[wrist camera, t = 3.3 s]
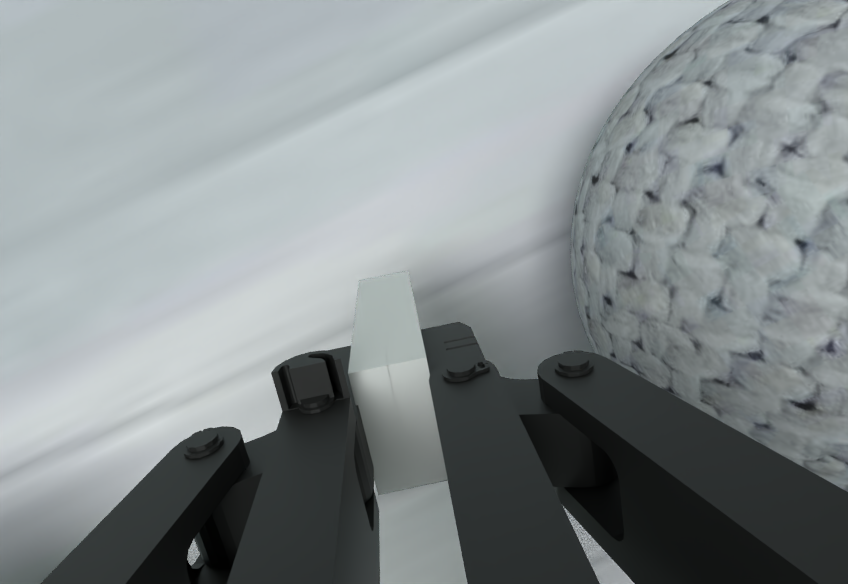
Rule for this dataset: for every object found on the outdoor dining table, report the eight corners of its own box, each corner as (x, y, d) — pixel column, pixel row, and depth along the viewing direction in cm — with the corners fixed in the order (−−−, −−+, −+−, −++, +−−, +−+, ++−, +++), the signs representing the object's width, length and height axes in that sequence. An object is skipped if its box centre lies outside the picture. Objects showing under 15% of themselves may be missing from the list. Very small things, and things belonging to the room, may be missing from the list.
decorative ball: (636, -73, 20) (1298, -576, 6) (948, 111, 23) (1925, 88, 8) (457, 300, 23) (584, 580, 9) (747, 421, 26) (1198, 781, 12)
